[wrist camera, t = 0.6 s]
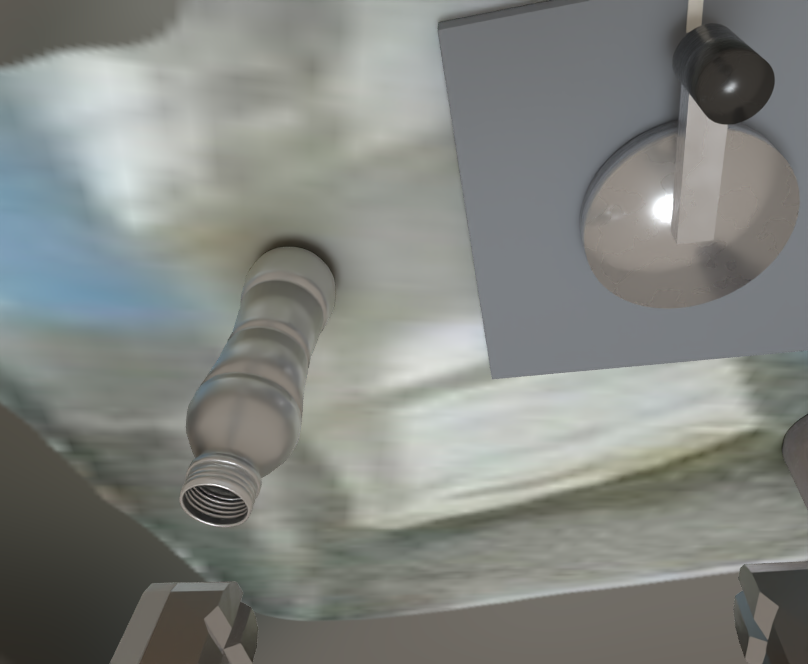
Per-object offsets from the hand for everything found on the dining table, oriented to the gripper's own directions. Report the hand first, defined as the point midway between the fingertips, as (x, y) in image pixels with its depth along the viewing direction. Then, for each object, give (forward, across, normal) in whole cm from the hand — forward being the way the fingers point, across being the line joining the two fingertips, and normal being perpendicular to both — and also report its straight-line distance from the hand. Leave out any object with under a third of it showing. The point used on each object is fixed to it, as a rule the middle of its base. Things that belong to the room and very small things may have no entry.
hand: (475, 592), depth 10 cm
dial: (+31, -12, +6) cm, 34 cm away
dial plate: (+33, -12, +9) cm, 36 cm away
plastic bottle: (+34, +14, +11) cm, 38 cm away
